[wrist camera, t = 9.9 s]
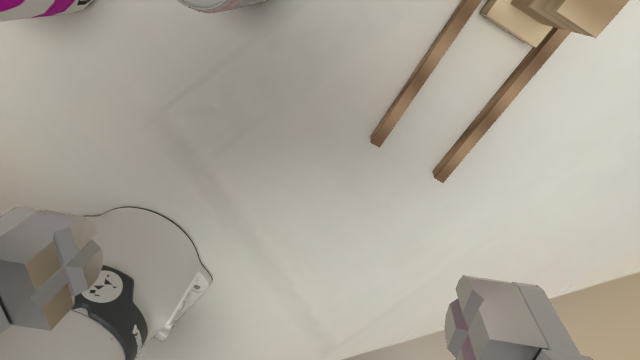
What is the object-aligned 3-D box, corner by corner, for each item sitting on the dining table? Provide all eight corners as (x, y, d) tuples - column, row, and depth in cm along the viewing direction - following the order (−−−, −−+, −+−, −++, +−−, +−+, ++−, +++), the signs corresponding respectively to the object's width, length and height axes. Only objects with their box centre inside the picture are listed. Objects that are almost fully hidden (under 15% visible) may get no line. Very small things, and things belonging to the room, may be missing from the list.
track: (440, 176, 38) (443, 182, 37) (370, 137, 37) (370, 142, 36) (666, -96, 26) (681, -100, 25) (573, -167, 25) (584, -175, 24)
